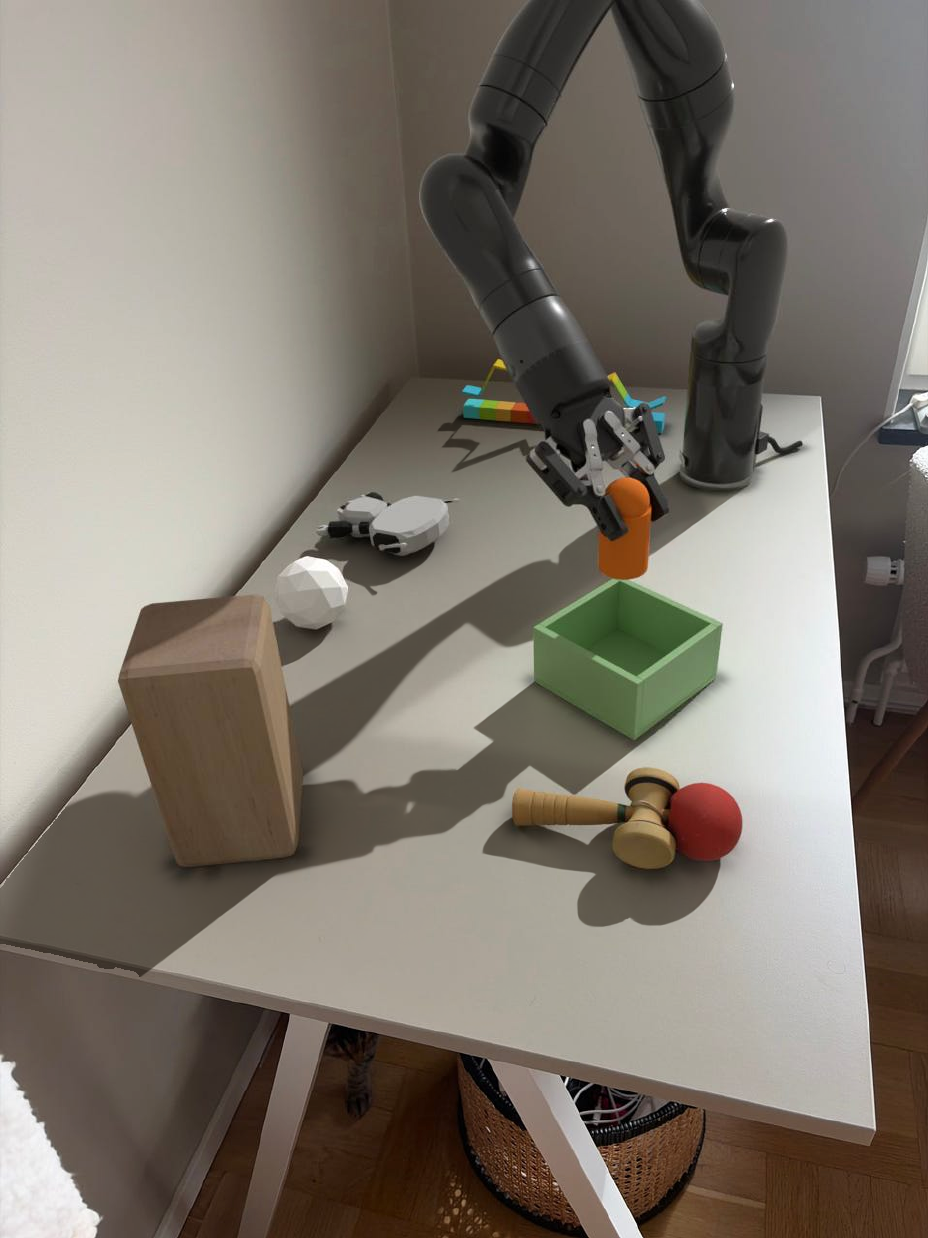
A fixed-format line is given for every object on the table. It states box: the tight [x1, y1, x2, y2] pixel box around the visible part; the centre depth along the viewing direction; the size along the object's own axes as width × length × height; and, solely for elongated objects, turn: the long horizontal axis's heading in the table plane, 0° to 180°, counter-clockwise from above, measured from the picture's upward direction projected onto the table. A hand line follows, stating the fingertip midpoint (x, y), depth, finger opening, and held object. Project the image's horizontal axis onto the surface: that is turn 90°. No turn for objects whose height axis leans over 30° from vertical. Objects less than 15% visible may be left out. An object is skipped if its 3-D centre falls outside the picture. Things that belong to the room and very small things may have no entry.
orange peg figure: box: [597, 477, 652, 580], centre depth 88 cm, size 5×5×9 cm
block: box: [117, 593, 304, 868], centre depth 77 cm, size 10×10×20 cm
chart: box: [461, 358, 667, 434], centre depth 143 cm, size 30×3×15 cm, turn 72°
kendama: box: [511, 766, 743, 870], centre depth 78 cm, size 8×6×18 cm
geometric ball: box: [273, 555, 349, 630], centre depth 105 cm, size 8×8×8 cm
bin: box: [532, 578, 723, 741], centre depth 94 cm, size 13×13×7 cm
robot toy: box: [315, 491, 461, 557], centre depth 120 cm, size 12×4×15 cm
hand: (640, 526), depth 87 cm, fingers closed on orange peg figure, 4 cm apart
